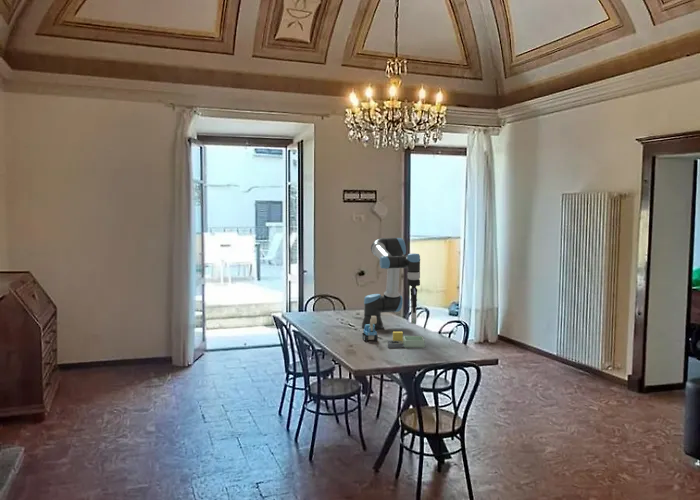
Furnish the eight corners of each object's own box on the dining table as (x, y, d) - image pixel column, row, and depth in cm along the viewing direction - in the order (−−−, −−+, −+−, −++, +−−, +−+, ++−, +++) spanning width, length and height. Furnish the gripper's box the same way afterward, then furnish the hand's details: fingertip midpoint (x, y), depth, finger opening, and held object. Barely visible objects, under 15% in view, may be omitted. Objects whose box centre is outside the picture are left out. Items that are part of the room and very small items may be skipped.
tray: (403, 343, 370) (403, 336, 369) (422, 343, 369) (422, 336, 369) (404, 347, 358) (404, 340, 357) (424, 347, 357) (424, 340, 357)
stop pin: (410, 322, 364) (410, 298, 363) (416, 322, 364) (416, 298, 363) (410, 324, 360) (410, 299, 359) (417, 324, 360) (417, 299, 359)
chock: (392, 340, 377) (392, 331, 376) (402, 340, 377) (402, 331, 376) (393, 342, 373) (393, 332, 372) (402, 342, 373) (402, 332, 372)
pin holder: (387, 344, 366) (387, 340, 366) (401, 344, 366) (401, 340, 366) (388, 347, 357) (388, 343, 357) (402, 347, 357) (402, 343, 357)
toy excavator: (367, 344, 368) (366, 316, 367) (361, 338, 384) (361, 312, 383) (380, 343, 370) (380, 316, 368) (374, 337, 386) (374, 311, 385)
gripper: (406, 277, 369) (406, 315, 370) (408, 280, 353) (408, 319, 354) (418, 277, 369) (418, 315, 370) (421, 280, 353) (421, 319, 354)
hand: (413, 317), depth 362 cm, fingers closed on stop pin, 3 cm apart
